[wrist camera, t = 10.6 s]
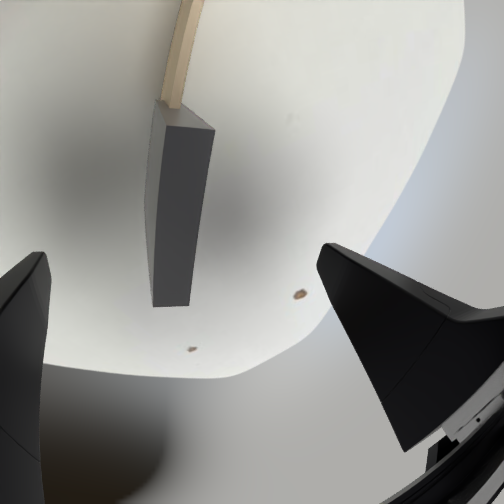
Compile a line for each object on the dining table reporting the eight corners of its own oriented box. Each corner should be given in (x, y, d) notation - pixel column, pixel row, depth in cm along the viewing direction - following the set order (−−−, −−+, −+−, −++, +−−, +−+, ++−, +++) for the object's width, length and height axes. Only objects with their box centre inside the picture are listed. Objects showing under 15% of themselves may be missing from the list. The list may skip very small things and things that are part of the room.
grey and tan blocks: (162, 185, 18) (189, 305, 10) (143, 185, 18) (152, 307, 9) (209, -44, 10) (291, -136, 2) (189, -47, 10) (252, -147, 2)
